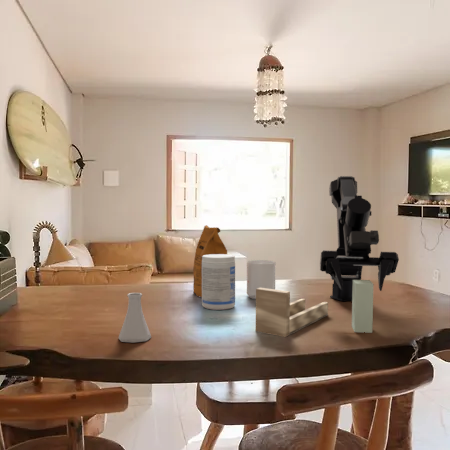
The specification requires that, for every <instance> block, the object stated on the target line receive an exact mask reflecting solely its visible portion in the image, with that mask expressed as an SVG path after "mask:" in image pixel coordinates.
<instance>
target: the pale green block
mask: <svg viewBox="0 0 450 450" xmlns="http://www.w3.org/2000/svg"><path fill="white" fill-rule="evenodd" d="M374 285H375V284H374V283H373V282H372V280H370V279H361V280H353V290H352V300H351V302H352V303H351V328H352V330H353V331H354V333H364V332H365V333H369V334H372V333H373V324H374V323H373V319H374V318H373V316H374V314H373V313H374ZM365 333H364V334H365Z"/></svg>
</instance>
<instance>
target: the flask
mask: <svg viewBox="0 0 450 450" xmlns="http://www.w3.org/2000/svg"><path fill="white" fill-rule="evenodd" d="M126 296H127V297H128V304H127V311H126V315H125V317H124V320H123V324H122V327H121V329H120V332H119V335H118V340H119V341H120V342H123V343H132V344H134V343H141V342H148V341H149V340H150V339H151V338H152V335H151V332H150V328H149V327H148V324H147V321H146V319H145V316H144V312H143V308H142V296H143V294H142V293H141V292H129V293H127V295H126Z"/></svg>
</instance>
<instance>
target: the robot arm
mask: <svg viewBox="0 0 450 450" xmlns="http://www.w3.org/2000/svg"><path fill="white" fill-rule="evenodd" d="M355 178H356V177H354V176H351V175H347V176H345V175H344V176H343V175H341V176H337V179H334V180H332V181H330V184H329V189H328V191H329V194H328V195H329V197H330V198H331V204H332V205H333V206H334V207H335V209H336V219H337V220H336V222H337V223H336V225H337V249H336V250H322V251H321V252H320V260H319V270H320V271H321V272H325V274H326V275H330V279H331V281H333V283H332V294H331V295H329V296H330V298H331V299H334V300H338V301H340V302H348V301H349V302H350V301H351V302H352V290H353V280H362V272H363V267H377V270H378V273H377V278H378V279H377V280H378V290H379V291H380V292H382V291H383V286H384V282H385V279H386V276H390V275H391V274H395V273H396V270H397V267H398V264H399V260H400V259H399V254H398V253H397V252H395V251H380V254H379V257H375V256H374V257H371V256H370V254H371V253H372V247H371V246H372V245H378V244H379V242H380V235H379V230H369V231H367V230H366V227H367V226H368V223H369V220H370V217H371V216H372V210H371V209H372V204H371V203H370V201H368V200H367V199H365V198H363V196H362V195H358V181H356V179H355Z"/></svg>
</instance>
